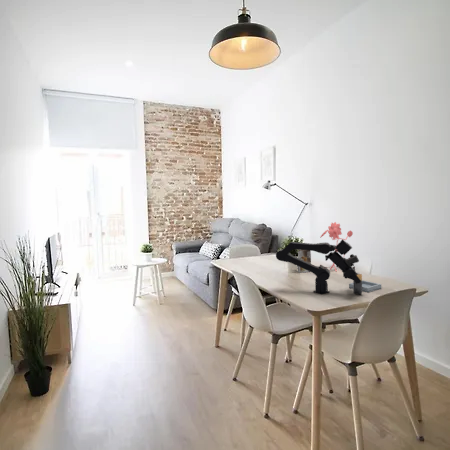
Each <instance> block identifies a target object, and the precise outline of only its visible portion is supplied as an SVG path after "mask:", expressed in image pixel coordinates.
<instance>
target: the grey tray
mask: <svg viewBox="0 0 450 450" xmlns="http://www.w3.org/2000/svg"><path fill="white" fill-rule="evenodd" d="M348 288H349V289H352V290H354V289H353V282H350V283H348ZM381 289H382V284H381V283H376V282H372V281H367V280H363V279H362V292H365V293H370V292H375V291H377V290H381Z"/></svg>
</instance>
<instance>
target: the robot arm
mask: <svg viewBox="0 0 450 450" xmlns="http://www.w3.org/2000/svg"><path fill="white" fill-rule="evenodd" d="M343 239H344V238H342V239H340V242H338V243H337V244H336V245H337V246H336V245H335V244H330V243H329V242H319V243H308V242H298V241H297V242H296V241H291V242H289V243H288V245H286V246H285V247H284V248H281V249H279V250H278V251H277V252H276V253H275V257H276V259H277V260H278V261H281V262H283V263H284V262H285V263H289V264H293V265H294V266H296V265H297V266H299V267H301V268H303V269H305V270H308V271H310V272H311V273H312V274H313V275H315V276H316V277H315V279H314V281H315V284H314V285H315V290H313V293H317V294H320V295H325V294H328V293H330V290H329V288H328V280H329V279H330V277H331V270H330V268H327V266H324V265H323V264H319V265H315V264H312V263H311V264H310V263H308V262H306V261H303V260H301V259H299V258H297V257H296V256H295V255H293V254H292V253H290V252H291V251H292V250H310V251H313V252H315V253H319V254H322V255H325V256H324V257H325V261H326V262H327V261H328V260H330V261H331V262H332V264H333V263H334V265H335V268H338V269H340V271H341V272H342V273H343V274H342V275H343V276H342V277H344V279H350V280H352V281H353V280H354V281H357V282H359V283H360V282H361V280H360V279H359V278H358V276H357V275H356V273H357V272H356V267H355V264H356V263H359V262H360V260H359V258H358V256H357V255H354V254H350V255H349V257H348V258H346V257H344V256H345V255H346V254H348V253H349V252H350V251H351V250H352V249H353V247H352V245H351V244H350V243H348V242H347V241H346V240H343ZM335 249H336V250H335ZM337 251H338V252H337ZM342 255H343V256H342ZM310 272H309V273H310Z"/></svg>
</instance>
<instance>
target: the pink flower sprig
mask: <svg viewBox="0 0 450 450" xmlns="http://www.w3.org/2000/svg"><path fill="white" fill-rule="evenodd" d="M327 233H328V237H329V238H331V240H332V241H335V240H336V245H335V246H337V245H338V244H339V240H342V239H343V240H344V241H346V240H347V239H348V238H351V237H352V236H353V234H354V233H353V231H352V230H349V231H347V236H346V238H340V236H341V235H343V233H342V228H341V224H340V223H337V222H336V221H335V222H331V223H330V225H329V226H328V229H326V230H325V231H324V232H323V233H322V234H321V235H320V236H319V237H320V238H322V237H323V236H325V234H327ZM335 250H336V249H335ZM335 250H334V251H335ZM337 252H338V251H337ZM338 253H339V252H338ZM326 267H327V266H326ZM333 268H334V270H335V272H337V269H336V268H337V267H336V265H335V264H334V263H333V262H332V265H331V266H330V267H327V269H329V271H331V270H332V269H333Z"/></svg>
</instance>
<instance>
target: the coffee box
mask: <svg viewBox="0 0 450 450" xmlns="http://www.w3.org/2000/svg"><path fill="white" fill-rule="evenodd" d="M298 258H299V259H301V260H303V261H306V262H308V263H310V264H312V253H311V251H310V250H299V251H298ZM297 267H298V268H297V269H298V272H297V273H301V274H303V273H310V271H308V270H305V269H303V268H301V267H299V266H297Z"/></svg>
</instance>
